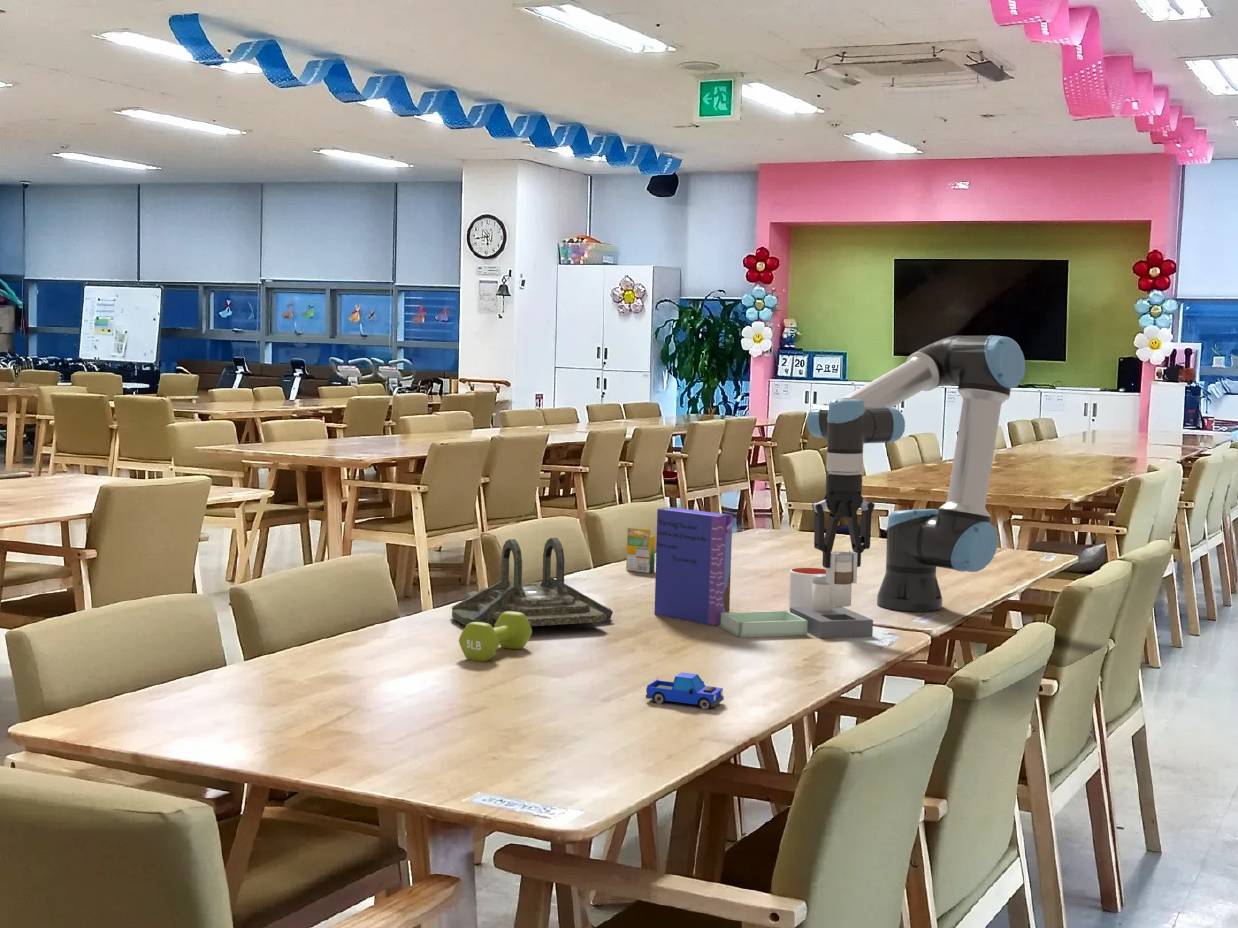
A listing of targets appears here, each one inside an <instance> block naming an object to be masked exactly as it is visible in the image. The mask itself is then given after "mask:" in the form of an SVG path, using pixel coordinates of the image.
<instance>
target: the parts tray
mask: <svg viewBox="0 0 1238 928" xmlns="http://www.w3.org/2000/svg"><path fill="white" fill-rule="evenodd" d="M807 622H808V621H807V620H805V619H803V618H801V617H799V616H797V615H795V614H793V613H790V611H789V610H768V611H767V610H765V611H762V610H761V611H759V610H758V611H736V612H735V611H731V612H730V611H729V612H726V613H721V626H720V628H722V629H724V630H725V631H726V632H729V633H731V634H732V635H734V636H736V637H738V638H757V637H758V638H763V637H764V638H766V637H790V636H791V637H792V636H793V637H797V636H808V632H807Z"/></svg>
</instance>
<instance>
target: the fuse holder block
mask: <svg viewBox="0 0 1238 928" xmlns="http://www.w3.org/2000/svg"><path fill="white" fill-rule="evenodd" d="M830 585H831V584H829V583H827V582H826V574H814V575H813V591H812V607H790V610H789V612H790V613H793V614H795V615H797V616H799V617H801V618H803V619H805V620H807V621H808V622H807V634H810V635H812V636H814V637H817V638H818V639H839V638H863V637H873V635H874V634H873V630H874V629H873V628H874V620H873V619H872V618H868V617H867V616H865V615H862V614H860V613H857V612H855V611H853V610H851V609H849V608H846V607H839V606H832V605H830Z"/></svg>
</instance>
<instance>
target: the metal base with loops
mask: <svg viewBox="0 0 1238 928" xmlns="http://www.w3.org/2000/svg"><path fill="white" fill-rule="evenodd" d="M520 547H521V546H520V544H519V543H518V541H517V540H516V538H510V539H507V540H505V542H504V544H503V545H502V551H501V557H500V558H501V564H500V565H501V567H500V569H501V571H500V576H501V577H500V580H499V581H498V582H497V583H495V584H493V585H490V586H489V587H485V588H481V589H479V590H473V591H469V592H468V591H467V592H466V593H465V594H464V599H463V600H461V601H460V602H458V603H456V604H454V605H452V606H451V618H452V619H454V620H456V621H457V622H458V623H460V624H462V625H463V626H464V625H465V626H466V625H467V624H469V623H471V622H483V623H488V624H490V625H491V626H494V625H495V623H496V621H497V620H498V618H499V616H500V615H501V614H502V613H504V612H507V611H514V612H521V613H523V614H525V616H526V617H527V619H528V621H529V624H530V626H531V627H537V626H538V627H539V626H541V627H542V626H556V625H571V624H572V625H574V624H588V623H591V624H592V623H602V624H609V623H610V621H611V619H612V616H613V612H614V611H613V610H612V609H611V608H610V607H607V606H605V605H603V604H601V603H600V602H598V601H596V600H594V599H593V598H591V597H590V596H588V595H586V594H583V593H582V592H580V591H579V590H577V589H575V588H573V587H572V586H570V585H568V584H566V583H565V563H566V562H565V553H564V547H563V544H562V542H561V541H560V540H559V538H558V537H550V538H549V539H547V540H546V542H545V543H544V547H543V554H542V581H541V582H538V581H533V582H530V581H529V582H522V581H523V558H522V556H523V555H522V550H521V548H520ZM553 551H554V553H555V560H556V563H555V565H556V566H555V567H556V569H555V578H553V577H551V573H552V570H551V565H552V564H551V563H552V553H553ZM511 554H512V555H513V583H512V582H511V583H510V558H511Z"/></svg>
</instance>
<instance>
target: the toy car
mask: <svg viewBox="0 0 1238 928" xmlns="http://www.w3.org/2000/svg"><path fill="white" fill-rule="evenodd" d="M645 689H646V690H645V691H646V692H645V693H646V694H645V699H648V700H649V699H650V700H652V702H653V704H661V705H664V704H665V703H666V702H674V703H675V702H676V703H681V704H690V705H697V707H698V709H701V710H702V709H706V710H707V711H708V710H710V709H711V708H712V707H713V708H714V707H716V706H717V705H719V704H720V703H721V702H723V701H724V698H725V696H724V688H723V687H717V686H710V685H709V686H707V685H706V684H705V681H704V680H703V679H702V678H701V677H700V675H699V674H698V673H691V672H680V673H678V674H676V675H674V680H673V681H667V680H659V679H657V678H656V679H655V680H654V681H652V682H650V683H649V684H647V685H646V688H645Z"/></svg>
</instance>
